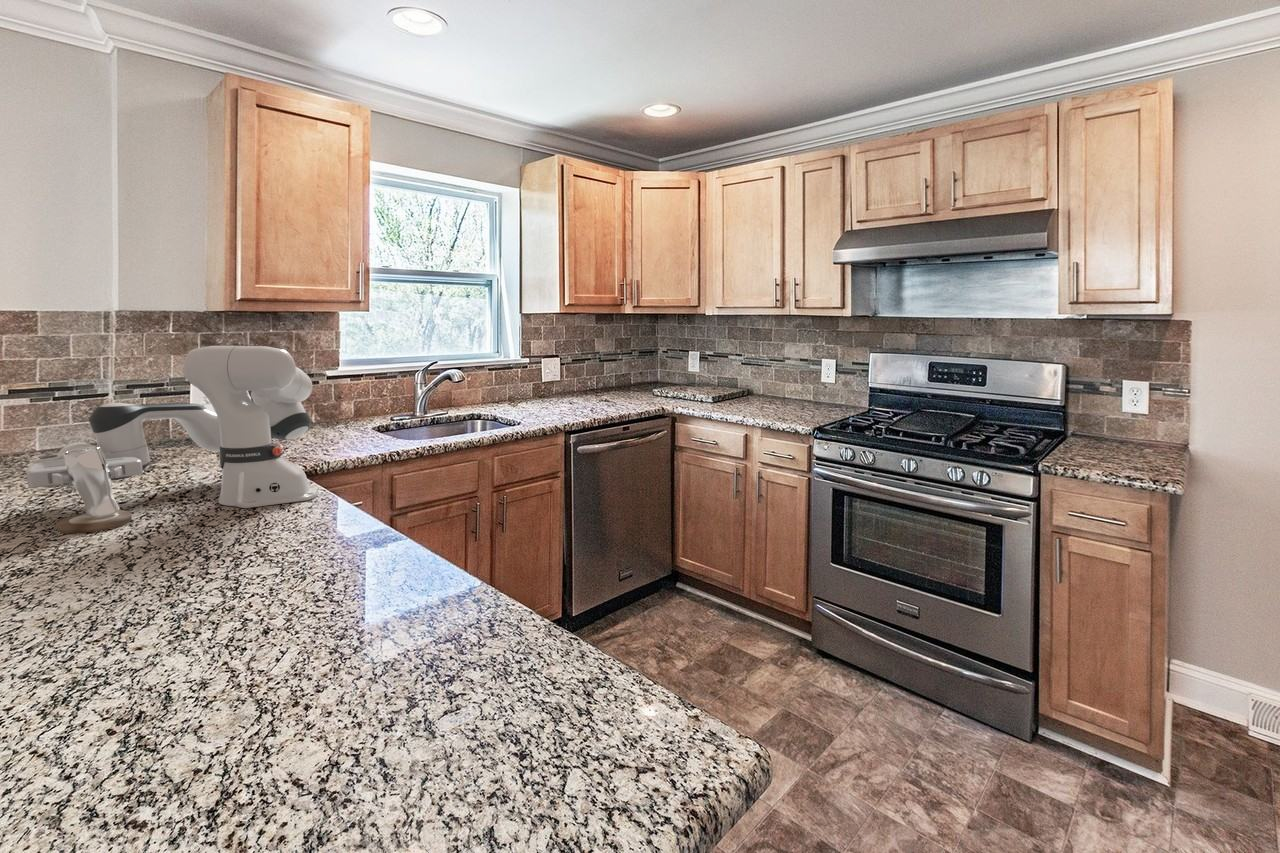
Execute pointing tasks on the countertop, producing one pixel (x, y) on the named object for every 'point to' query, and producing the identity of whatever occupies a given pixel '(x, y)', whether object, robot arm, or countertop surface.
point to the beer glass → (92, 480)
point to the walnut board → (92, 523)
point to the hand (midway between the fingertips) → (89, 477)
